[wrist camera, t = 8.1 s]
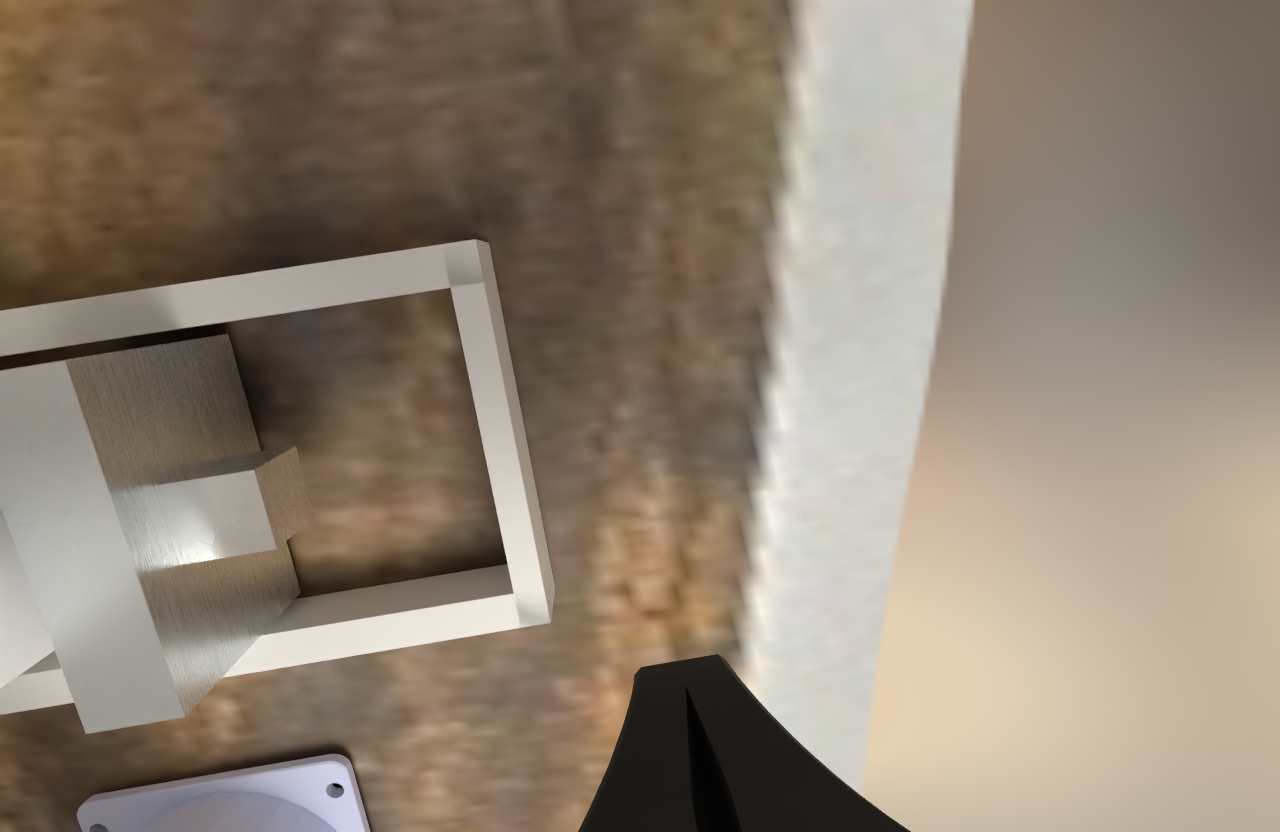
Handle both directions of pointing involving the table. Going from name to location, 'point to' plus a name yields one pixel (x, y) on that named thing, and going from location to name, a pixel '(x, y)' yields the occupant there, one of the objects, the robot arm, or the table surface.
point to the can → (18, 614)
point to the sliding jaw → (147, 522)
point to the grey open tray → (468, 270)
